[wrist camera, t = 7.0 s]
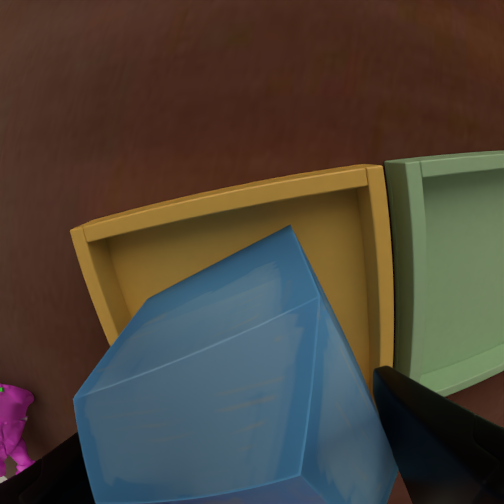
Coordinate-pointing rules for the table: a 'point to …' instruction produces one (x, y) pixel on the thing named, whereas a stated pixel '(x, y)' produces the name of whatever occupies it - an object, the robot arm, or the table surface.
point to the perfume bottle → (235, 394)
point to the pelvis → (13, 426)
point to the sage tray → (448, 267)
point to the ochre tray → (246, 233)
